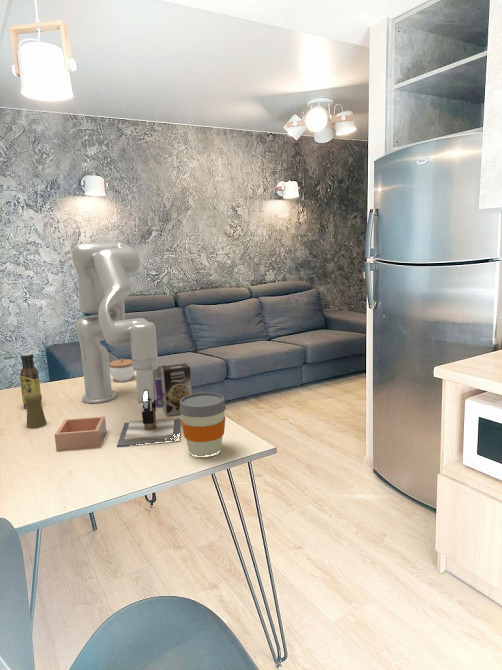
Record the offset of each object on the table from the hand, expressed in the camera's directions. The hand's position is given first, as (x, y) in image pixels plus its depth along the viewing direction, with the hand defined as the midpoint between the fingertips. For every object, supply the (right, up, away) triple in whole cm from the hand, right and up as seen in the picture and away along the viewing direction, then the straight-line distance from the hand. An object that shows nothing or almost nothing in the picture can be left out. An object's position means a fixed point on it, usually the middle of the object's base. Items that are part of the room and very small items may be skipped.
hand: (149, 417), depth 149 cm
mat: (0, -5, +1) cm, 5 cm away
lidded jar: (-24, +6, +60) cm, 65 cm away
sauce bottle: (-49, -1, +30) cm, 57 cm away
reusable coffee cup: (+18, -7, -14) cm, 24 cm away
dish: (-19, -6, -3) cm, 21 cm away
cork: (-39, -5, +11) cm, 41 cm away
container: (-1, 0, +26) cm, 26 cm away
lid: (0, -4, +1) cm, 4 cm away
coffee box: (+6, -1, +18) cm, 19 cm away
